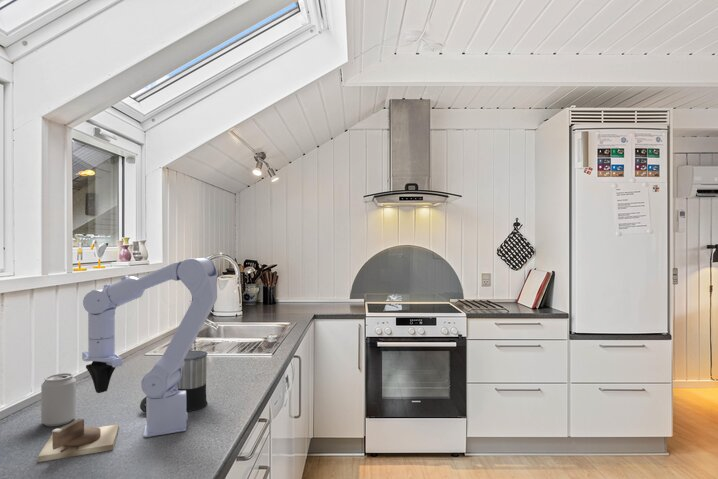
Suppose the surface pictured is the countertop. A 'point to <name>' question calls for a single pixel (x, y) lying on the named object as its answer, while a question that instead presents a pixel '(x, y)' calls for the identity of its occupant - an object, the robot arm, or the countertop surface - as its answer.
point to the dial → (75, 434)
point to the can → (58, 399)
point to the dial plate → (98, 445)
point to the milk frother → (191, 381)
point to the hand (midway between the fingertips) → (101, 391)
